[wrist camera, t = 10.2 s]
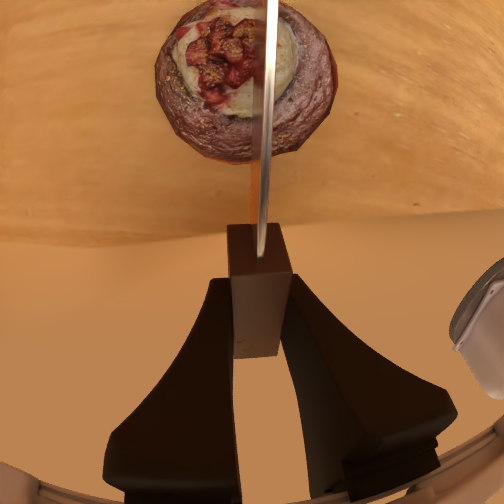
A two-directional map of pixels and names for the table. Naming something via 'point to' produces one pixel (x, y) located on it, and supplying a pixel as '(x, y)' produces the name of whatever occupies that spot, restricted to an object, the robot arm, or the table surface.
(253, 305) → the knife
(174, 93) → the pastry
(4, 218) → the table surface
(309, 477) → the robot arm
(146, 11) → the table surface
